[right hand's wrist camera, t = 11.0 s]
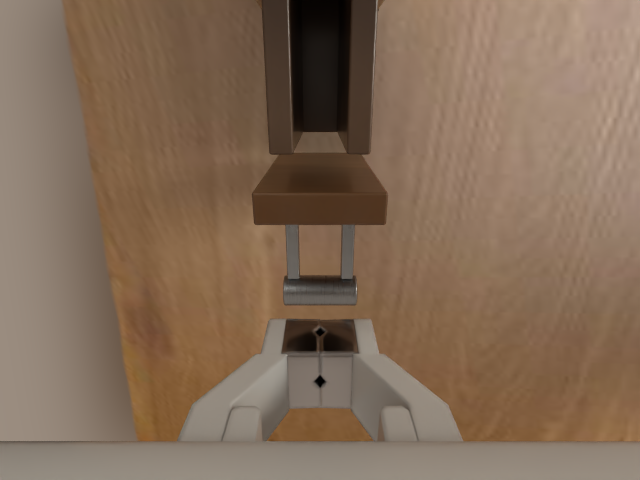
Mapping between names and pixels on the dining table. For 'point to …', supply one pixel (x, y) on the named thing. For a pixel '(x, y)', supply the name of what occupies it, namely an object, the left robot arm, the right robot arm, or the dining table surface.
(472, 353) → the dining table surface
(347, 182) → the drawer
